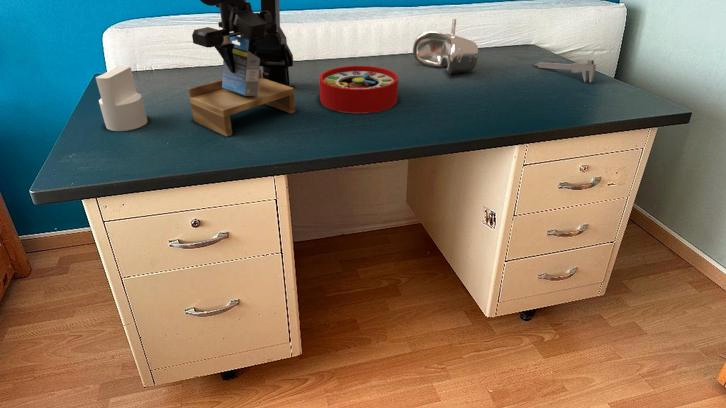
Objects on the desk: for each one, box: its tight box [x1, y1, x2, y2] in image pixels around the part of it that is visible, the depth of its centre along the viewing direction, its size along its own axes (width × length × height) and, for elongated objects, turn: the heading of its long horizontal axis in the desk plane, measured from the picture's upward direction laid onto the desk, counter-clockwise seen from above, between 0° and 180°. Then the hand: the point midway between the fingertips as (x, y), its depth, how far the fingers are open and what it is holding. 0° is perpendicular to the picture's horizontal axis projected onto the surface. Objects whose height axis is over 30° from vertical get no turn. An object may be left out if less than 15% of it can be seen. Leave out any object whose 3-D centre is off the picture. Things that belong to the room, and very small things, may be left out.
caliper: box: [534, 59, 596, 83], centre depth 147 cm, size 20×1×6 cm, turn 32°
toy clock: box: [318, 65, 399, 114], centre depth 129 cm, size 20×6×20 cm
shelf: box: [187, 68, 296, 137], centre depth 118 cm, size 20×13×8 cm, turn 138°
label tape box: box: [221, 35, 260, 96], centre depth 114 cm, size 9×4×12 cm, turn 49°
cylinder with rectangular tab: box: [95, 65, 149, 132], centre depth 113 cm, size 9×9×12 cm
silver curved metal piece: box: [412, 18, 479, 76], centre depth 150 cm, size 18×11×14 cm, turn 33°
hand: (241, 70), depth 114 cm, fingers closed on label tape box, 4 cm apart
